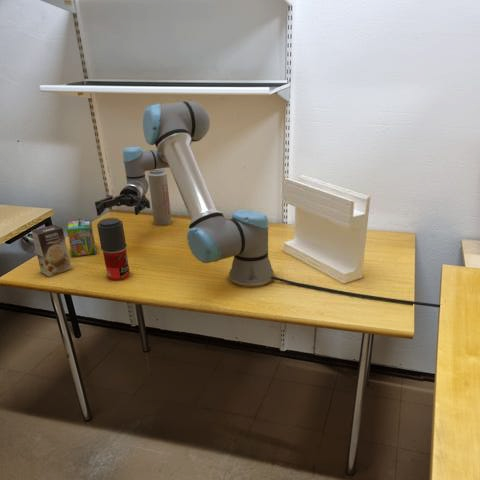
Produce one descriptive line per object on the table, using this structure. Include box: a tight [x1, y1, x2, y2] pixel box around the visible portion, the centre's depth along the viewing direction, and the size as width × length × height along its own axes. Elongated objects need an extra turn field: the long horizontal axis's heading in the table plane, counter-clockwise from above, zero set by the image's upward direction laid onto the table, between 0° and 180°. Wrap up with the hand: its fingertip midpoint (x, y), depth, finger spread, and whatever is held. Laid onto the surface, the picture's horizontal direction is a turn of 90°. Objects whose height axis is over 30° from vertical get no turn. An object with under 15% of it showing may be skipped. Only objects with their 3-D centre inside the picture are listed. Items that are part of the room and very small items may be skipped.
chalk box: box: [66, 214, 97, 258], centre depth 188 cm, size 9×9×15 cm
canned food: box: [102, 247, 131, 281], centre depth 168 cm, size 8×8×11 cm
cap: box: [96, 217, 128, 252], centre depth 163 cm, size 9×9×9 cm
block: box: [282, 174, 371, 284], centre depth 168 cm, size 35×8×28 cm, turn 31°
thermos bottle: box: [147, 168, 172, 227], centre depth 213 cm, size 8×8×28 cm
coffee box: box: [30, 224, 72, 278], centre depth 172 cm, size 9×6×16 cm
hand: (116, 211), depth 168 cm, fingers open, 13 cm apart
